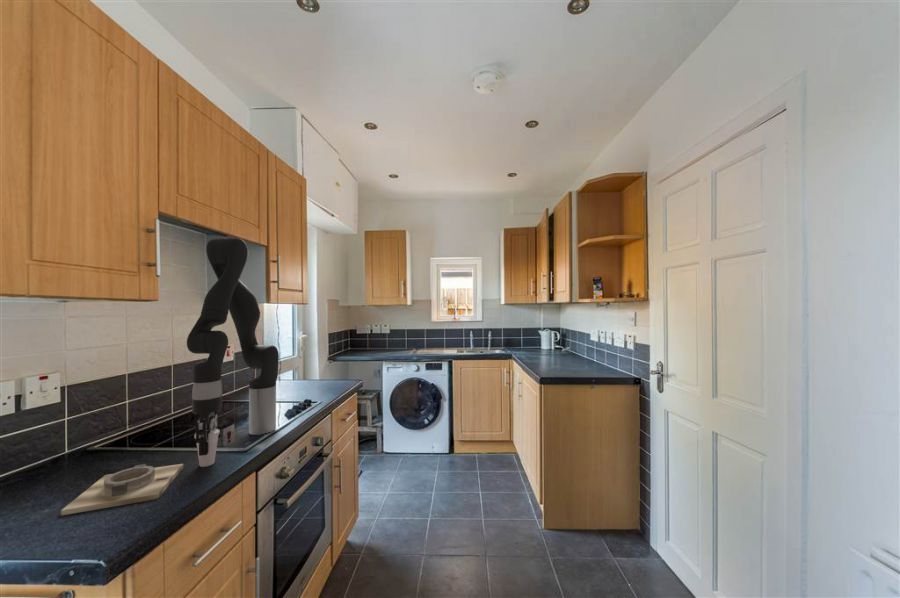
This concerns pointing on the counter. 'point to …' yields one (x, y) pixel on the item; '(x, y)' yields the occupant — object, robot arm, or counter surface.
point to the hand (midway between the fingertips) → (207, 450)
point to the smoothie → (209, 449)
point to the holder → (125, 488)
